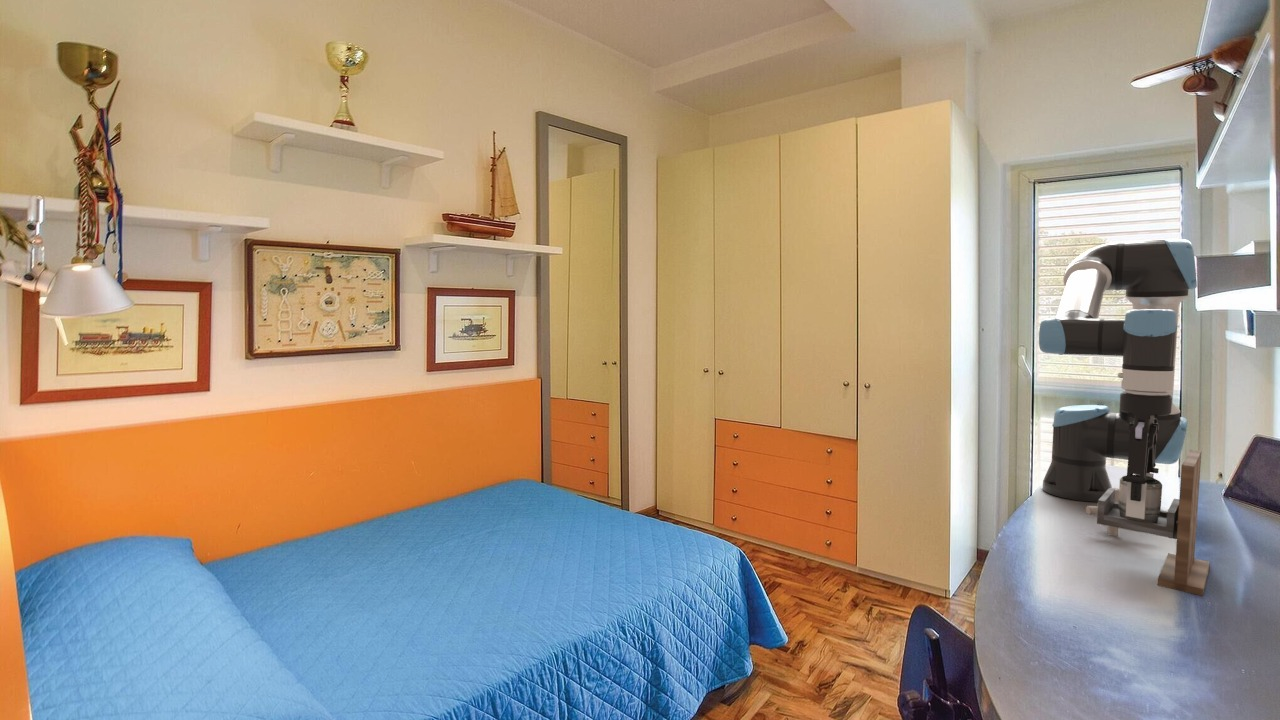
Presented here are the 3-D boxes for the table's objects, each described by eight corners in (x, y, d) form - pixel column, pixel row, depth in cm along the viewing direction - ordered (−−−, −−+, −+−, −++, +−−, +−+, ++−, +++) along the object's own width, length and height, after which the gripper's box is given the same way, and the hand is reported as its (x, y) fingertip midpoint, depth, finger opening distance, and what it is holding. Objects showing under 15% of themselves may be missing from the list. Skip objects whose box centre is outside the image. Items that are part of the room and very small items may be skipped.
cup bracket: (1107, 546, 129) (1113, 440, 127) (1209, 567, 118) (1217, 452, 116) (1092, 569, 118) (1098, 453, 116) (1202, 595, 107) (1211, 468, 105)
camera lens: (1109, 512, 122) (1111, 472, 121) (1141, 512, 122) (1143, 472, 121) (1135, 523, 116) (1138, 481, 115) (1169, 523, 116) (1171, 481, 115)
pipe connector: (1152, 544, 130) (1155, 497, 129) (1098, 541, 132) (1101, 494, 131) (1125, 527, 139) (1128, 483, 139) (1075, 525, 141) (1077, 481, 141)
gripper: (1129, 385, 127) (1123, 495, 129) (1110, 396, 112) (1103, 520, 114) (1178, 388, 121) (1171, 503, 123) (1165, 400, 107) (1157, 530, 108)
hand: (1138, 511), depth 119 cm, fingers open, 8 cm apart
